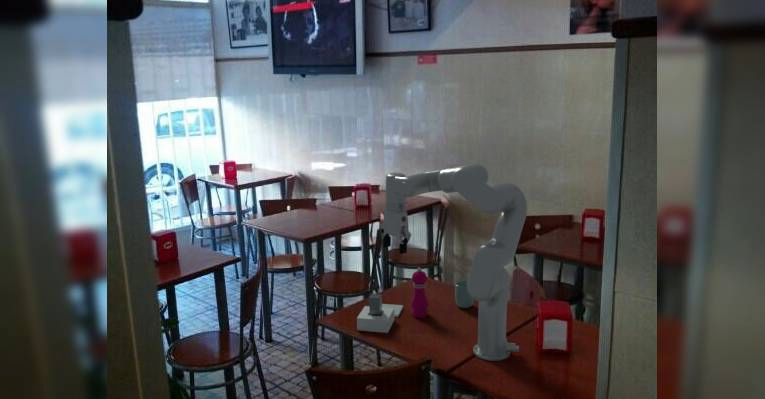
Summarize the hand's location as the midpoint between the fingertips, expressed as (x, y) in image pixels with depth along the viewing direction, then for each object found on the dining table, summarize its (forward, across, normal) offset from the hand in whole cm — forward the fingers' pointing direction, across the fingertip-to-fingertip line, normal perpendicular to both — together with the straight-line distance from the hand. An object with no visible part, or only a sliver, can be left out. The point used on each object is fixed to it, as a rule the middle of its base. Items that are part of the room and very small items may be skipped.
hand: (394, 249), depth 220 cm
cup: (+30, -5, -34) cm, 45 cm away
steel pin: (+31, +3, +6) cm, 31 cm away
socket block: (+31, +3, +6) cm, 31 cm away
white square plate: (+31, +11, -6) cm, 33 cm away
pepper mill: (+30, 0, -14) cm, 33 cm away
